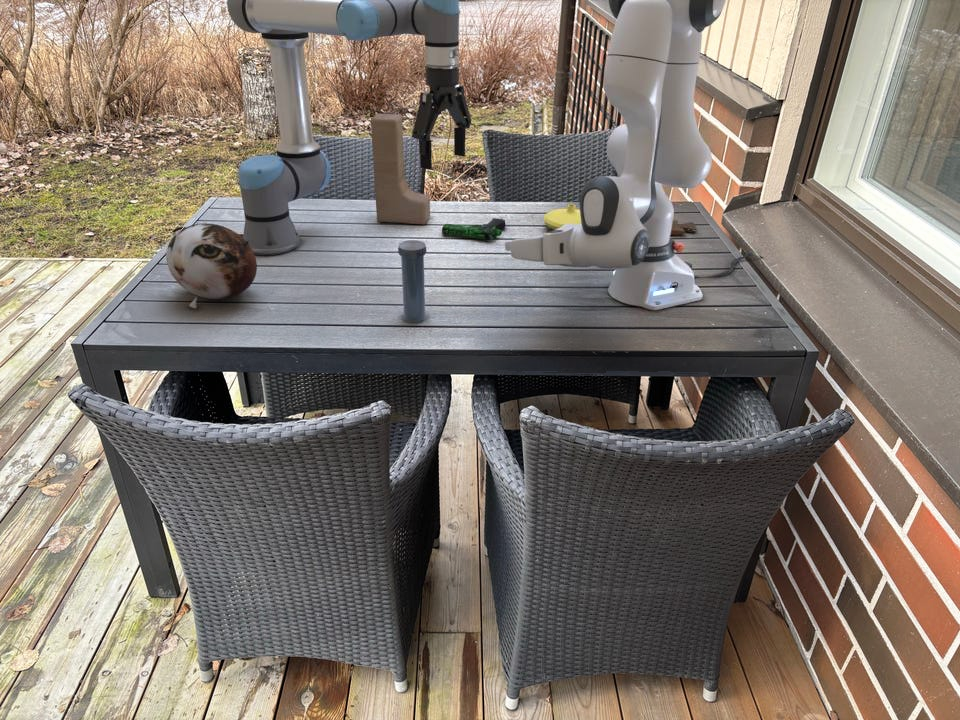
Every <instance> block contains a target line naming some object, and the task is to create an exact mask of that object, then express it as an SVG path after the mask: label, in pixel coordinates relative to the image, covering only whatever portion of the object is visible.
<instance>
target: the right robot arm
mask: <svg viewBox="0 0 960 720" xmlns="http://www.w3.org/2000/svg"><path fill="white" fill-rule="evenodd" d="M726 1H727V0H608V6H609V10H610V12H611V14H612V16H613V17H614V19H615V20H616V21H615V24H614V27H613V30H612V33H611V38H610V41H609V46H608V50H607V54H606V60H605V65H604V70H603V92H604V94H605V96H606V98H607V100H608V102H609V103H610V104H611V106H613V108H614V109H616V111H617V112H618V113H619V114H620V115H621V117H622V119H623V121H624V123H622V124H620V125H618V126H616V128H615V129H614V130H613V131H612V132H611V133H610V135H609V137H608V140H607V143H606V156H607V159H608V161H609V163H610V164H611V165H612V167H613V168H614V170H615V172H616V175H617V176H614V175H598V176H594V177H592V178H591V179H589V180H588V181H587V182H586V183H585V184H584V185H583V187H582V189H581V192H580V194H579V210H580V216H581V224H565V225H563V226H562V227H560V228H558V229H556V230H554V229H553V230H551V231H547V232H544V233H542V235H537V236H531V237H530V236H529V237H522V238H515V239H512V240H511V241H508V242H507V241H506V242H505V244H504V249H505V251H507V252H510V256H511V257H512V259H513V258H514V259H515V260H523V261H529V262H540V263H543V265H545V266H562V267H570V268H590V267H597V268H599V269H614V271H613V274H612V275H613V276H612V279H611V281H610V284H609V286H608V289H607V293H608V294H609V296H611V297H612V299H615V301H618V302H620V303H623V304H626V305H631V306H636V307H640V308H641V307H642V308H644V309H646V310H650V311H659V310H663V309H667V308H671V307H677V306H680V305H686V304H689V303H694V302H697V301H702V300H703V292H702V289H701V288H700V287H699V286H698V285H697V284H696V283H695V279H716V278H720V277H724V276H726V275H729V274H731V273H732V272H733V271H734V268H735V264H736V263H738V262H739V261H742V260H744V259H746V258H748V257H752V256H754V255H753V254H752V253H753V252H750V253H747V254H744V255H742V256H743V257H741V256H739V257H737V258H735V259H734V260H733V261H732V262H731V265H730V269H728V270H726V271H723V272H720V273H717V274H714V275H709V276H697V275H695V273H694V271H693V264H692V263H690V262H688V261H685V260H683V259H682V258H680V257H679V256H678V255H677V254H676V253H678V254H681V253H683V251H684V250H685V245H684V244H683V243H681V242H680V241H677V242H676V240H674V239H673V238H671V235H672V234H671V228H672V222H673V220H674V215H675V210H674V209H675V208H674V205H673V202H672V201H671V199H670V198H669V197H668V196H667V194H666V193H665V190H664V188H663V185H664V186H667V187H670V188H678V189H694V188H696V187H698V186H700V184H702V183H703V182H704V181H705V180H706V178H707V177H708V175H709V174H710V170H711V169H712V163H713V160H712V159H713V157H712V152H711V148H710V147H709V146H708V144H707V143H706V142H705V140H704V139H703V136H702V134H701V132H700V130H699V129H700V128H699V127H698V124H697V119H696V113H695V112H696V111H695V92H696V84H697V75H698V71H699V65H700V59H701V58H700V57H701V50H702V39H703V31H704V30H705V29H706V28H707V27H710V26H711V25H713V24H714V23H715V22H716V21H717V20H718V19H719V18H720V17H721V14H722V12H723V10H724V7H725V5H726V3H727V2H726ZM675 252H676V253H675Z"/></svg>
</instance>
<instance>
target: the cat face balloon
mask: <svg viewBox="0 0 960 720" xmlns="http://www.w3.org/2000/svg"><path fill="white" fill-rule="evenodd" d="M185 227H186V228H184V229H182V230H178V231H177V232H176V233H175V234H174V235H173V237H171V239H170V241H169V243H168V245H167V248H166V254H165V260H166V265H167V268H168V271H169V273H170V275H171V276H172V277H173V279H174V280H175V281H176V282H177V284H178V285H180V286H181V287H182V288H183V289H185V290H186V291H187V292H189V293H191V294H194V295H195V298H194V299H193V300H192V302H190V303H189V304H188V306H189V307H191V308H192V309H197V308H198V307H197V298H198V297H201V298H205V299H210V300H226V299H230V298H233V297H236V296H238V295H241V294H242V293H244V292H245V291H247V290H248V289H249V288H250V286H251V285H252V284H253V282H254V280H255V278H256V275H257V271H258V262H257V257H256V254H254V252H253V250H252V248H251V247H250V245H249V244H248V242H249V241H246V240H245V239H244V238H243V237H241V236H240V235H241V234H239V233H238V232H236V231H234V230H233V229H231V228H229V227H226V226H223V225H220V224H215V223H205V222H204V223H195V224H191V225H188V226H185Z"/></svg>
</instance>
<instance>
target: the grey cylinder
mask: <svg viewBox="0 0 960 720" xmlns="http://www.w3.org/2000/svg"><path fill="white" fill-rule="evenodd" d="M400 262H401V287H402V306H403V319H404V321H406V322H408V323H420V322H423V321H424V320H425V319H426V287H425V285H426V283H425V255H424V256H422V257H418V258H405V257H402V256H400Z"/></svg>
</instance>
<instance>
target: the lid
mask: <svg viewBox="0 0 960 720" xmlns="http://www.w3.org/2000/svg"><path fill="white" fill-rule="evenodd" d="M397 247H398V248H397V254H398V255H399V256H400V257H401V256H402V257H405V258H418V257H422V256H424V257H425V255H426V254H427V244H426V243H425V242H424V241H422V240H418V239H417V240H416V239H410V240H409V239H408V240H404V241H401V242H399V243H398V246H397Z"/></svg>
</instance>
